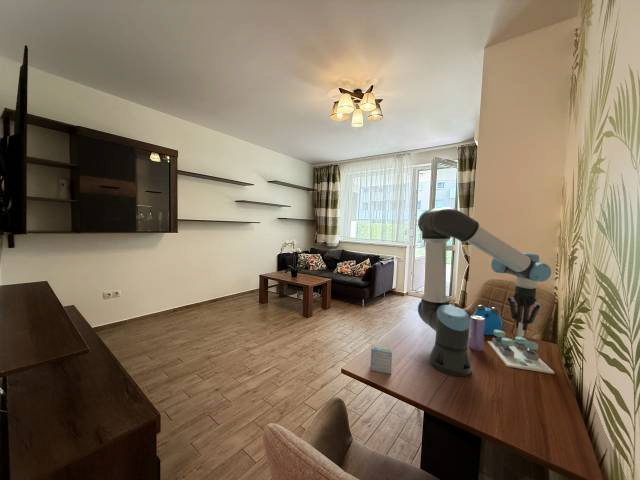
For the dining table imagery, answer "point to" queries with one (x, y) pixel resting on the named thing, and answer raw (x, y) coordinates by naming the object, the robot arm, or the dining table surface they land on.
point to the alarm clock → (489, 318)
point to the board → (519, 357)
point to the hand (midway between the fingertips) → (520, 335)
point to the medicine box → (381, 359)
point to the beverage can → (476, 332)
